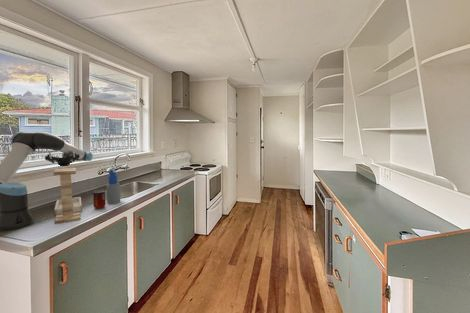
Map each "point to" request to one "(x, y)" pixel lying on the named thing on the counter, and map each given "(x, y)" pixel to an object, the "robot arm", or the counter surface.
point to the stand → (66, 196)
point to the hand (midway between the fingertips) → (62, 152)
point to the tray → (76, 206)
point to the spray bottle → (113, 188)
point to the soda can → (99, 199)
